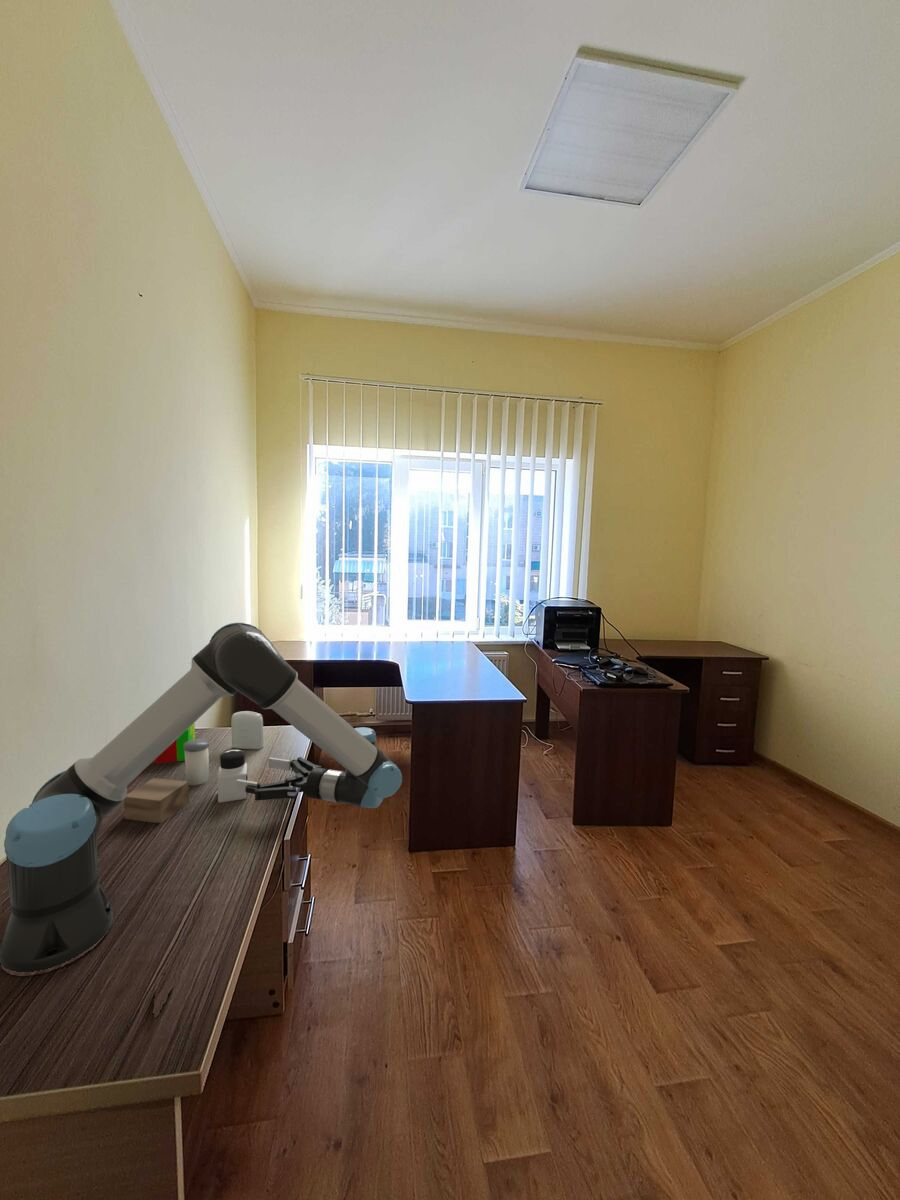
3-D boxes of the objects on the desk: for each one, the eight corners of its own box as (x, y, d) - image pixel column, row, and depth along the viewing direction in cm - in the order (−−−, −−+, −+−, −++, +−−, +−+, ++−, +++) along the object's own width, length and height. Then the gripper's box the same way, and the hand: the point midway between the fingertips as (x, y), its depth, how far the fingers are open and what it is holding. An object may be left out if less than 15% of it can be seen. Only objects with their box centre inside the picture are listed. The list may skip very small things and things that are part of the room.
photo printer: (229, 748, 163) (228, 712, 161) (236, 743, 167) (235, 708, 165) (259, 750, 162) (258, 714, 160) (265, 745, 166) (264, 710, 164)
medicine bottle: (247, 799, 131) (246, 756, 130) (218, 803, 129) (216, 759, 127) (247, 786, 138) (246, 745, 137) (219, 790, 135) (218, 749, 134)
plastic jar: (198, 787, 137) (197, 748, 136) (179, 783, 138) (178, 746, 137) (214, 776, 143) (213, 740, 142) (196, 773, 145) (195, 737, 143)
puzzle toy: (161, 750, 160) (160, 721, 159) (195, 747, 163) (194, 718, 162) (152, 763, 151) (151, 732, 149) (189, 760, 154) (188, 729, 152)
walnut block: (161, 824, 119) (160, 800, 119) (124, 819, 121) (123, 796, 120) (189, 803, 129) (188, 781, 128) (155, 799, 131) (154, 777, 130)
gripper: (299, 824, 115) (222, 810, 120) (347, 776, 139) (281, 766, 144) (299, 794, 114) (221, 781, 119) (347, 751, 138) (280, 742, 143)
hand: (254, 773), depth 132 cm, fingers open, 13 cm apart
